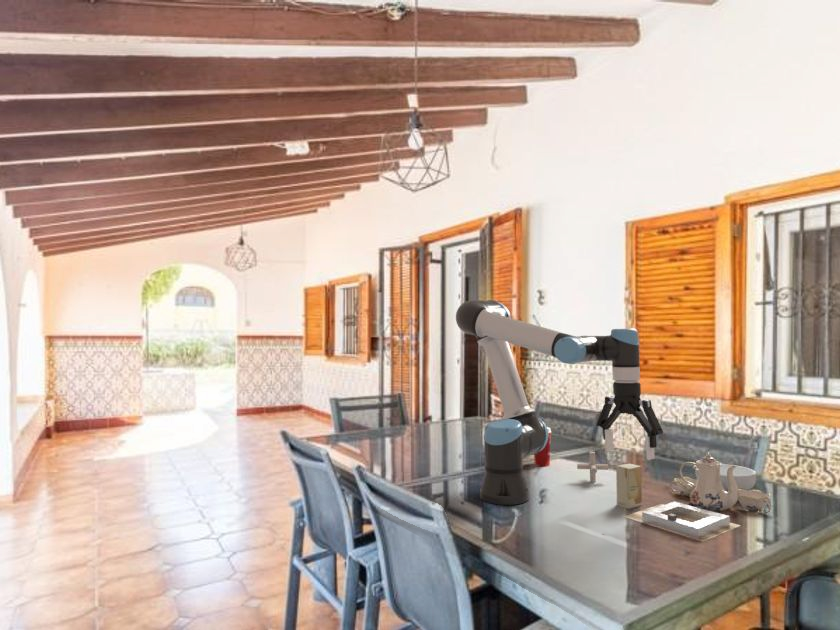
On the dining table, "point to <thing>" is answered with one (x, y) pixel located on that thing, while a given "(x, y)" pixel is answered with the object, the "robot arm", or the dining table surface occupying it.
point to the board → (638, 517)
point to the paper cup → (544, 453)
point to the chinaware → (718, 489)
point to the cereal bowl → (736, 477)
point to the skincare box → (629, 485)
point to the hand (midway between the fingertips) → (629, 455)
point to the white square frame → (702, 527)
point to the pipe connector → (592, 467)
